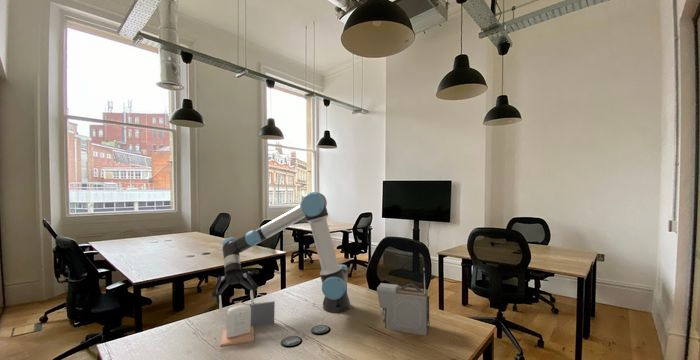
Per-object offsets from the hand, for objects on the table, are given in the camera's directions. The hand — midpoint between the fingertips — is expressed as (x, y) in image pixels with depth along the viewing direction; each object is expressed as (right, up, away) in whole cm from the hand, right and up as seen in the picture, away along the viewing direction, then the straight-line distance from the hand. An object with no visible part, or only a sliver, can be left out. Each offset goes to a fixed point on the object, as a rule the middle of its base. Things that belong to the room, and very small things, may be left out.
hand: (237, 307), depth 128 cm
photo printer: (+1, -11, -2) cm, 11 cm away
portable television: (+76, -12, +7) cm, 77 cm away
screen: (+7, -12, +9) cm, 16 cm away
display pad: (+1, -12, -2) cm, 12 cm away
